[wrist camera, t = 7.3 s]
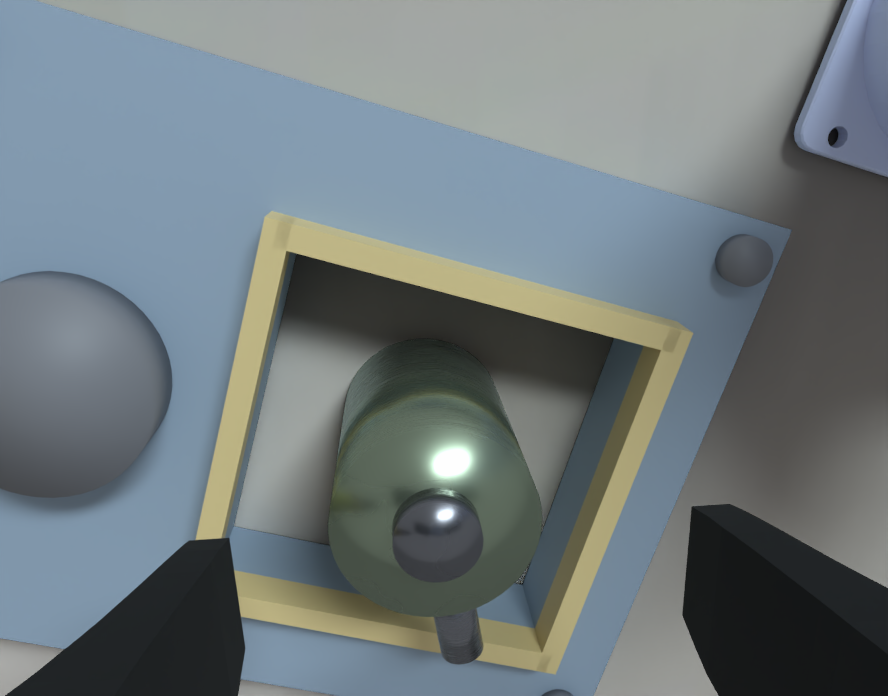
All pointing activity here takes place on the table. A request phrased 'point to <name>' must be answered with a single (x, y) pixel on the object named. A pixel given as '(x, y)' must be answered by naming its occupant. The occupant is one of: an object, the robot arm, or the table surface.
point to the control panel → (256, 329)
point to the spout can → (431, 491)
